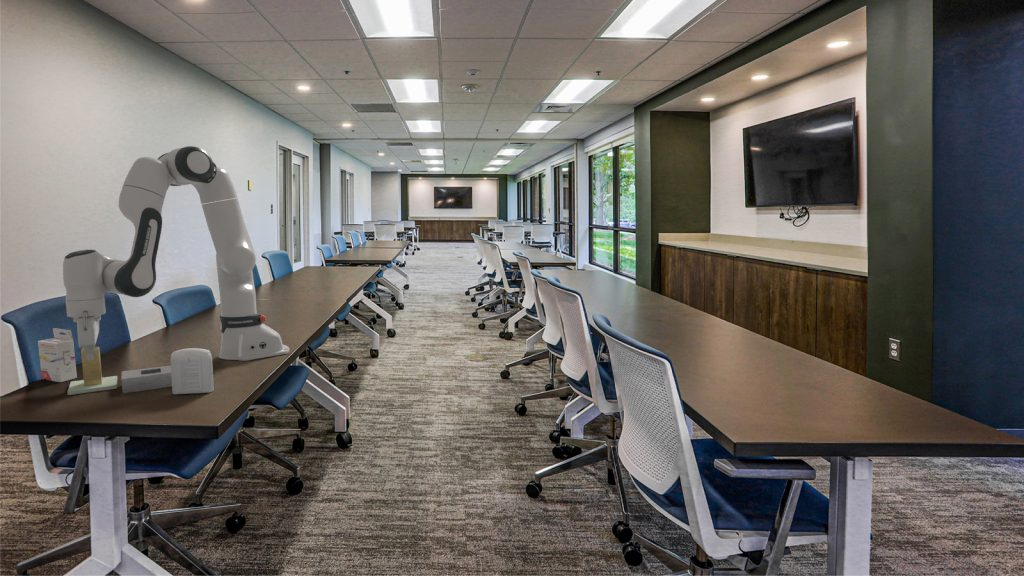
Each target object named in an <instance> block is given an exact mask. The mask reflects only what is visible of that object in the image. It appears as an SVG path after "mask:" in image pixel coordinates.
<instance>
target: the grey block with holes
mask: <svg viewBox="0 0 1024 576" xmlns="http://www.w3.org/2000/svg"><path fill="white" fill-rule="evenodd" d="M120 380H121V387H122V390H121V391H122V394H127V393H134V392H135V393H136V392H141V391H148V390H155V389H162V388H163V389H164V388H170V387H171V388H172V377H171V364H170V365H165V366H164V365H163V366H156V367H148V368H147V367H146V368H138V369H130V370H123V371H121V379H120Z"/></svg>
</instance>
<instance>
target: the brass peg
mask: <svg viewBox="0 0 1024 576" xmlns="http://www.w3.org/2000/svg"><path fill="white" fill-rule="evenodd" d="M80 350H81V351H80V355H81V368H82V377H83V380H84V386H90V385H98V384H102V378H103V374H102V363H101V352H100V346H95V347H94V359H93V360H86V354H85V350H84V348H80Z"/></svg>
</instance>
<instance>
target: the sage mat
mask: <svg viewBox="0 0 1024 576" xmlns="http://www.w3.org/2000/svg"><path fill="white" fill-rule="evenodd" d="M117 387H118V375H113V376H105V377H104V376H102V384H98V385H90V386H84V379H81V380H73V381H70V384H69V385H68V389H67V396H71V395H79V394H85V393H93V392H101V391H102V392H103V391H108V390H115V389H117Z"/></svg>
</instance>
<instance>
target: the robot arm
mask: <svg viewBox="0 0 1024 576" xmlns="http://www.w3.org/2000/svg"><path fill="white" fill-rule="evenodd" d="M187 185H192V186H193V187H194V188H195V190H196V191H197V194H198V195H199V200H200V204H201V208H202V209H203V213H204V214H203V215H204V218H205V221H206V224H207V228H208V231H209V234H210V237H211V240H212V243H213V246H214V249H215V252H216V253H215V258H216V259H215V261H216V271H217V280H218V289H219V302H220V316H219V330H220V332H221V340H220V348H219V349H220V350H219V352H218V353H219V354H218V358H219V359H222V360H231V361H232V360H234V361H236V360H237V361H242V362H243V361H244V362H245V361H251V360H257V359H263V358H270V357H275V356H276V357H277V356H280V355H287V354H289V353H290V347H289V346H288V345H286V344H283V340H282V337H281V335H280V334H279V332H278V331H276V330H274V329H273V328H271V327H270V326H268V325H266V324H265V323H264V322H266V321H267V319H268V318H267V316H265V315H264V314H260V313H258V312H257V298H256V297H257V296H256V295H257V294H256V293H257V292H256V287H255V281H254V273H253V270H254V267H255V266H256V263H257V257H256V254H255V253H256V252H255V251H254V247H253V244H252V241H251V237H250V235H249V232H248V228H247V226H246V223H245V220H244V217H243V214H242V209H241V206H240V202H239V198H238V195H237V192H236V189H235V187H234V183H233V181H232V179H231V177H230V176H229V173H228V171H227V170H225V169H224V168H222V167H219V166H217V165H216V163H215V162H214V161H213V159H212V157H211V156H210V154H209V153H207V151H206V150H205V149H202V147H201V148H200V147H199V146H198V147H197V146H193V145H192V146H191V145H188V146H183V147H179V148H175V149H172V150H171V151H169V152H166V153H163V154H162V155H160V156H159V157H158V158H154V157H151V156H142V157H139V158H137V159H136V160H135V161H134V163H133V164H132V165H131V167H130V169H129V171H128V173H127V175H126V177H125V179H124V181H123V183H122V187H121V190H120V193H119V197H118V208H119V211H120V213H121V214H122V215H123V216H124V217H125V218H126V219H128V221H130V222H131V223H132V224H133V226H134V230H135V231H134V232H135V233H134V236H133V241H132V247H131V251H130V255H129V257H128V259H127V260H123V259H122V260H119V259H116V258H112V257H109V256H106V255H103V254H102V253H99V252H98V251H97V250H95V249H84V250H76V251H73V252H70V253H68V254H67V255H66V254H65V256H64V258H63V263H62V280H63V287H64V288H65V291H66V294H65V308H66V317H68V318H72V320H73V321H72V322H73V323H76V331H77V343H78V347H79V348H80V349H82V348H84V350H85V354H86V360H93V359H94V347H96V343H97V341H98V336H99V333H100V321H101V320H102V315H105V314H107V313H106V312H107V310H106V309H107V308H106V300H105V294H106V293H110V294H111V293H113V294H117V295H118V294H119V295H124V296H127V297H131V298H139V297H140V298H141V297H144V296H146V295H147V294H149V293H150V292H152V291H153V289H154V288H155V285H156V281H157V271H156V262H157V261H156V260H157V255H158V251H159V245H160V239H161V236H162V235H161V234H162V228H163V217H162V210H163V207H164V206H163V205H164V202H165V199H166V195H167V191H168V189H169V187H170V186H171V187H180V186H187Z"/></svg>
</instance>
